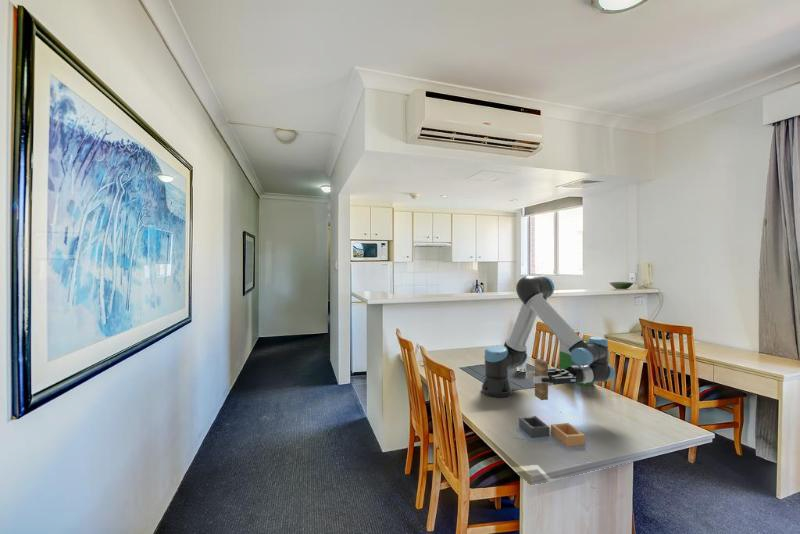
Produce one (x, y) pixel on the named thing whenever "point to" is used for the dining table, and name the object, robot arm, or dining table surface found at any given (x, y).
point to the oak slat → (541, 370)
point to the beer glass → (522, 367)
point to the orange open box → (571, 439)
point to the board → (547, 439)
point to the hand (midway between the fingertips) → (530, 377)
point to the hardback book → (569, 360)
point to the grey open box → (536, 431)
